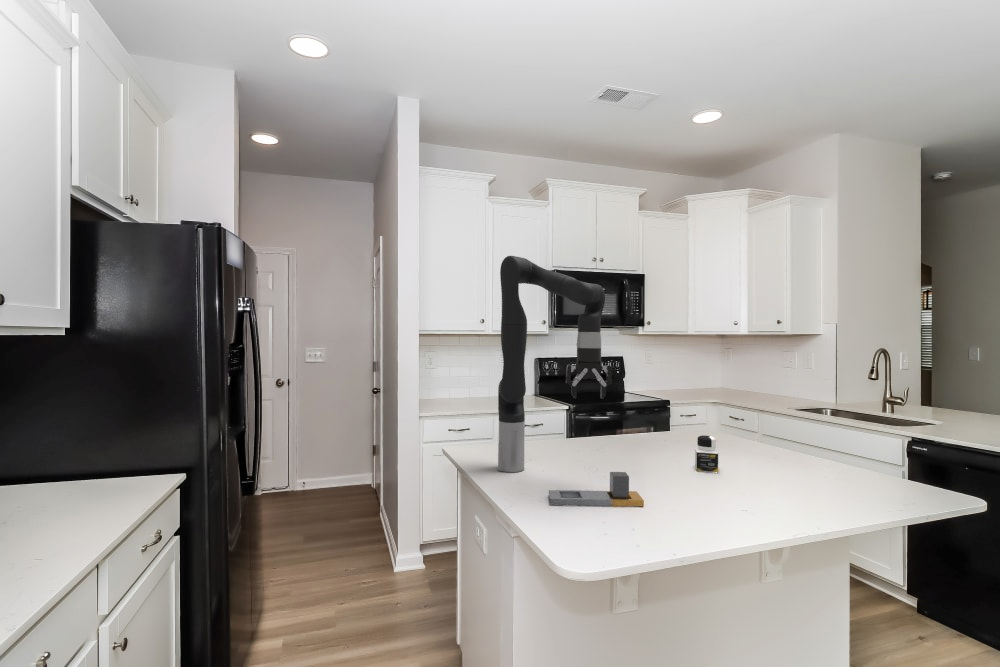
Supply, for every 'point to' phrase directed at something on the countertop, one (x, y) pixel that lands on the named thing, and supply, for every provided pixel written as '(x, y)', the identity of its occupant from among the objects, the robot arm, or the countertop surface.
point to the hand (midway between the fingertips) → (588, 398)
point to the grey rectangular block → (619, 485)
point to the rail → (593, 498)
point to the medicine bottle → (706, 454)
